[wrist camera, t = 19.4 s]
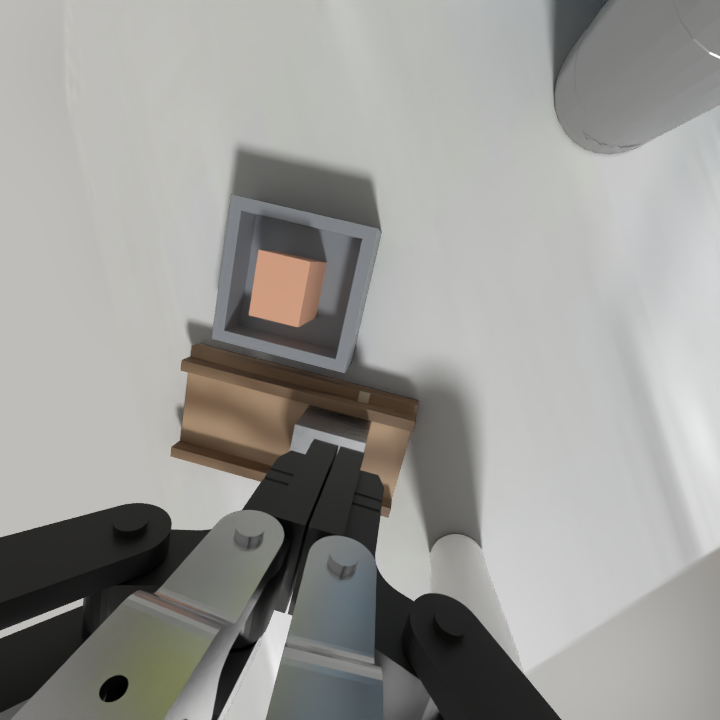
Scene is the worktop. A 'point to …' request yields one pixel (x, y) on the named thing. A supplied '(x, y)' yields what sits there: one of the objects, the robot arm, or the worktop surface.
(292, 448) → the block
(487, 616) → the white cylinder
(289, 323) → the block
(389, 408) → the guide board
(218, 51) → the worktop surface
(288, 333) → the tray
